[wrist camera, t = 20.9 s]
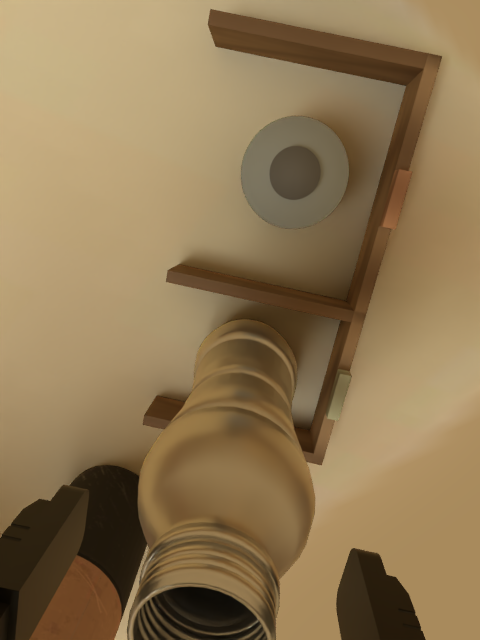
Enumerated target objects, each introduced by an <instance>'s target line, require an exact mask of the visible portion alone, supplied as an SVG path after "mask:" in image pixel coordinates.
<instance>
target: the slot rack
mask: <svg viewBox="0 0 480 640" xmlns="http://www.w3.org/2000/svg"><path fill="white" fill-rule="evenodd" d="M208 26H209V29H210V32H211V35H212V38H213V40H214V43H215V46H216V47H221V48H225V49H230V50H235V51H240V52H245V53H250V54H255V55H259V56H264V57H269V58H274V59H279V60H284V61H289V62H293V63H298V64H303V65H308V66H313V67H318V68H323V69H328V70H332V71H337V72H342V73H347V74H352V75H357V76H362V77H366V78H371V79H376V80H381V81H386V82H391V83H396V84H400V85H405V86H406V89H405V92H404V96H403V100H402V103H401V107H400V110H399V114H398V118H397V121H396V125H395V128H394V132H393V135H392V139H391V143H390V146H389V150H388V153H387V157H386V160H385V164H384V168H383V171H382V175H381V178H380V182H379V186H378V189H377V193H376V196H375V200H374V203H373V207H372V211H371V214H370V218H369V221H368V225H367V228H366V232H365V236H364V239H363V243H362V246H361V250H360V253H359V257H358V261H357V264H356V268H355V271H354V275H353V279H352V282H351V286H350V289H349V293H348V296H347V300H346V301H344V300H340V299H335V298H330V297H326V296H321V295H317V294H312V293H308V292H303V291H299V290H294V289H289V288H285V287H280V286H276V285H271V284H267V283H262V282H257V281H253V280H248V279H244V278H239V277H235V276H230V275H225V274H221V273H216V272H212V271H207V270H203V269H198V268H193V267H189V266H184V265H180V264H179V265H177V266H175V267H173V268H171V269H170V270H168V273H167V279H166V282H169V283H174V284H178V285H183V286H187V287H192V288H197V289H201V290H206V291H210V292H215V293H219V294H224V295H228V296H233V297H237V298H242V299H247V300H251V301H256V302H260V303H265V304H269V305H274V306H278V307H283V308H287V309H292V310H297V311H301V312H306V313H310V314H315V315H319V316H324V317H328V318H333V319H338V320H341V321H340V325H339V329H338V332H337V336H336V339H335V343H334V346H333V350H332V354H331V357H330V361H329V364H328V368H327V372H326V375H325V379H324V382H323V386H322V389H321V393H320V397H319V400H318V404H317V407H316V411H315V414H314V418H313V422H312V425H311V429H310V430H305V429H301V428H297V427H294V431H295V433H296V436H297V439H298V441H299V444H300V446H301V449H302V452H303V454H304V457H305V460H306V462H309V463H314V464H318V465H322V462H323V459H324V456H325V452H326V449H327V445H328V442H329V439H330V435H331V432H332V428H333V425H334V422H335V420H336V421H338V420H339V417H340V414H341V410H342V407H343V404H344V400H345V397H346V394H347V390H348V387H349V383H350V380H351V377H352V376H351V374H350V372H349V371H350V367H351V364H352V361H353V357H354V354H355V350H356V347H357V344H358V340H359V337H360V333H361V330H362V327H363V323H364V320H365V317H366V313H367V310H368V306H369V303H370V300H371V296H372V293H373V289H374V286H375V283H376V279H377V276H378V272H379V269H380V266H381V262H382V259H383V255H384V252H385V249H386V245H387V242H388V238H389V235H390V232H391V229H396V225H397V222H398V219H399V215H400V212H401V209H402V205H403V202H404V198H405V195H406V192H407V188H408V185H409V182H410V178H411V175H412V172H411V171H409V167H410V164H411V160H412V157H413V154H414V150H415V147H416V143H417V140H418V137H419V133H420V130H421V126H422V123H423V120H424V116H425V113H426V110H427V106H428V103H429V99H430V96H431V93H432V89H433V86H434V82H435V79H436V76H437V72H438V69H439V65H440V62H441V59H442V56H438V55H433V54H428V53H423V52H418V51H413V50H408V49H403V48H398V47H393V46H388V45H384V44H379V43H374V42H369V41H364V40H359V39H354V38H349V37H344V36H339V35H334V34H330V33H325V32H320V31H315V30H310V29H305V28H300V27H295V26H290V25H285V24H280V23H276V22H271V21H266V20H261V19H256V18H251V17H246V16H241V15H236V14H231V13H226V12H221V11H217V10H212V9H210V15H209V21H208ZM184 404H185V402H182V401H178V400H173V399H169V398H164V397H160V396H156V398H155V399H154V401H153V402H152V404H151V405H150V407H149V409H148V410H147V412H146V413H145V415H144V420H143V425H147V426H152V427H156V428H160V429H165V428H166V427H167V426H168V424H169V423H170V422H171V421H172V420H173V418H174V417H175V416H176V415H177V414H178V412H179V411H180V410H181V409H182V408H183V406H184Z"/></svg>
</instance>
